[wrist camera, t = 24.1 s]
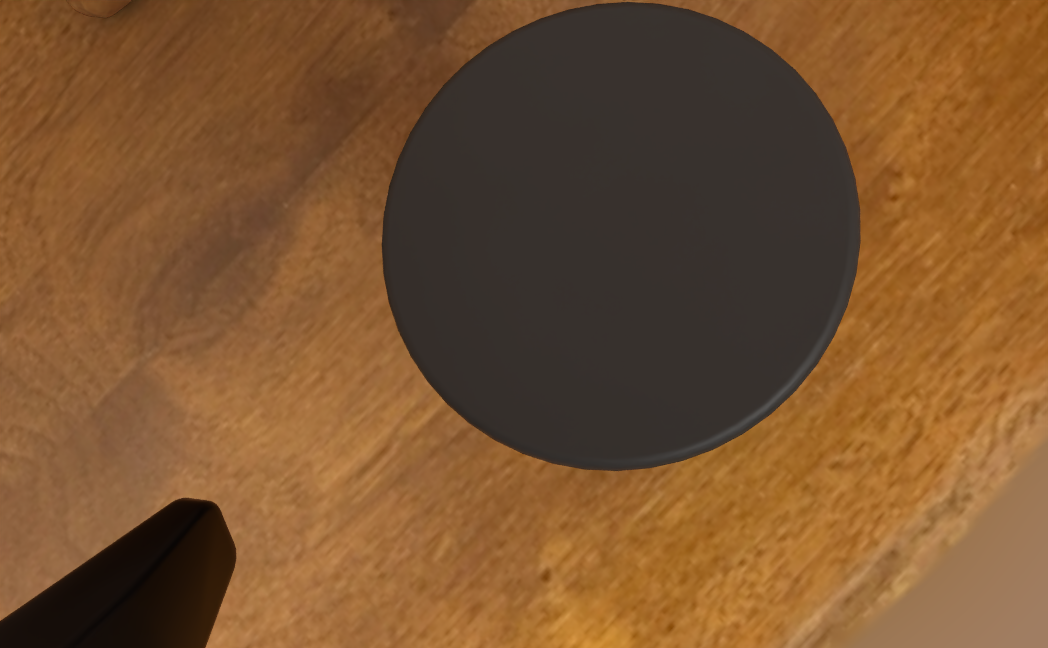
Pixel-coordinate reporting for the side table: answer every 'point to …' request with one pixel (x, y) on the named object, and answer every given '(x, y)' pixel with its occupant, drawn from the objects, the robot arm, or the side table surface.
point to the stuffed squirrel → (98, 7)
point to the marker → (621, 236)
